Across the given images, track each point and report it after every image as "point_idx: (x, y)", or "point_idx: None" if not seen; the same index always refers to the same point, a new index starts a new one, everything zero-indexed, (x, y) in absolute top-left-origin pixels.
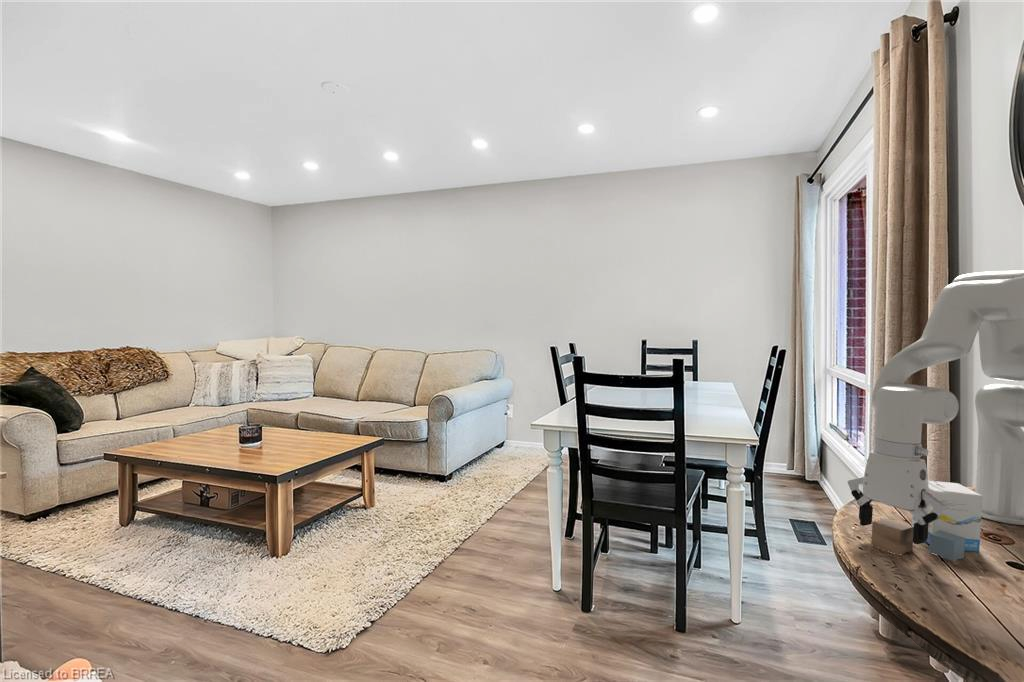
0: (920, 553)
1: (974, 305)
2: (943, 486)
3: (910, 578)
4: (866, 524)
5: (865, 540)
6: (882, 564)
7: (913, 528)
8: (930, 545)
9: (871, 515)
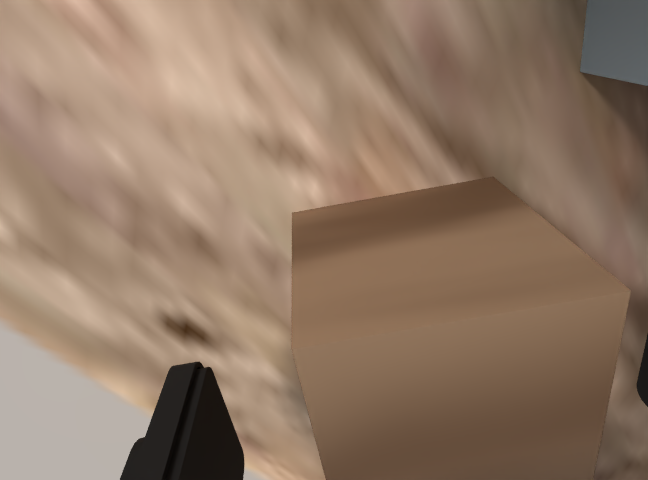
0: (545, 156)
1: None
2: None
3: (641, 474)
4: (233, 434)
5: (246, 330)
6: None
7: (615, 281)
8: (637, 79)
9: (194, 452)
